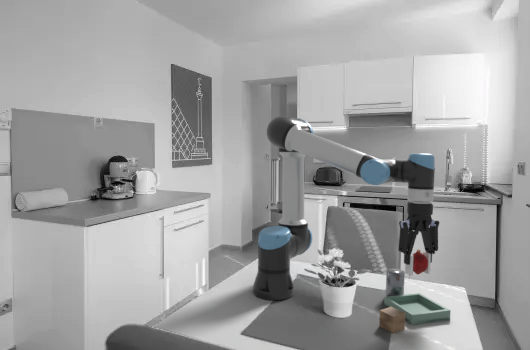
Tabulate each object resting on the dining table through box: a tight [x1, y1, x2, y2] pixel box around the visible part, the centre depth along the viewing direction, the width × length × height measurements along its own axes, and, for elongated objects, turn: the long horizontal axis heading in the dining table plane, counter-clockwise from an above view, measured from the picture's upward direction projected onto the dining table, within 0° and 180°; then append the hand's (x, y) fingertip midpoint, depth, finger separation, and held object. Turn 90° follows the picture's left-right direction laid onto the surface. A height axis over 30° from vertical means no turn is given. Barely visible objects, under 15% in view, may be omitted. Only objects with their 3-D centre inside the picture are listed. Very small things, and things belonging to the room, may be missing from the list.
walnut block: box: [378, 307, 406, 334], centre depth 104 cm, size 5×5×5 cm
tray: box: [383, 292, 451, 326], centre depth 114 cm, size 14×14×3 cm
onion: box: [411, 249, 428, 275], centre depth 113 cm, size 6×6×8 cm
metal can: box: [385, 268, 406, 297], centre depth 125 cm, size 6×6×10 cm
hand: (417, 273), depth 114 cm, fingers closed on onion, 6 cm apart
